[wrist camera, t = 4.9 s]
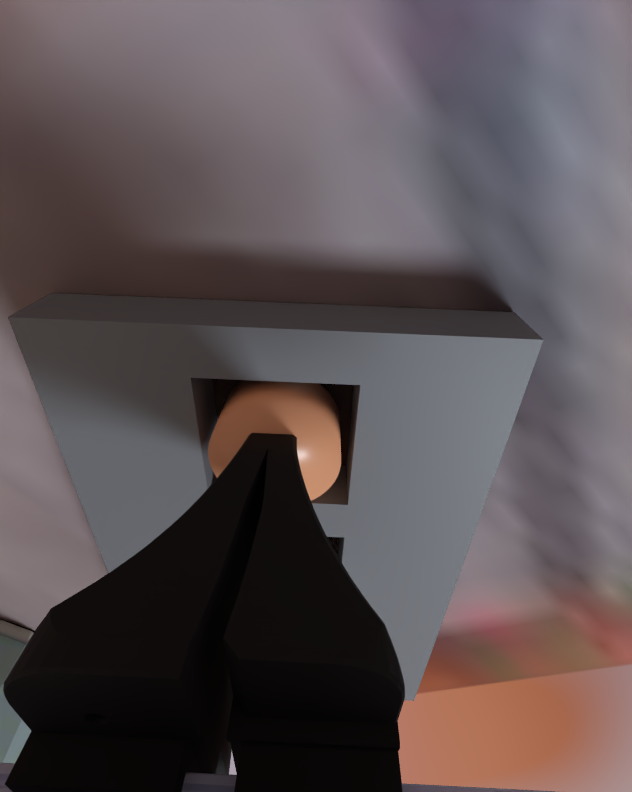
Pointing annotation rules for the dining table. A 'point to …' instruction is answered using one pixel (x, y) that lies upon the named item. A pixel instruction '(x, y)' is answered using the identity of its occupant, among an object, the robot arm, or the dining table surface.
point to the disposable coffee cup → (3, 728)
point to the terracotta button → (282, 427)
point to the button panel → (305, 363)
